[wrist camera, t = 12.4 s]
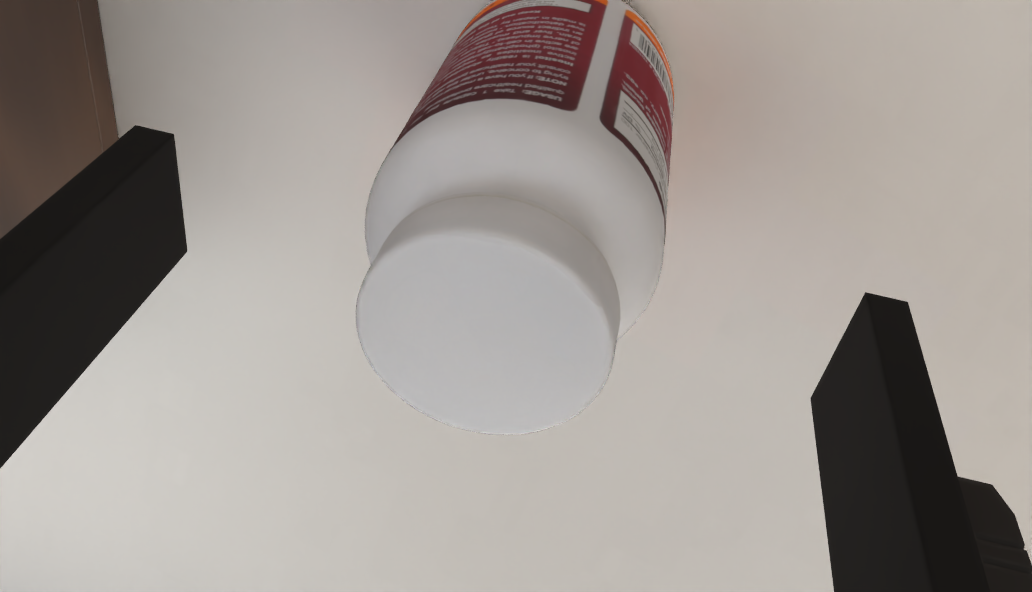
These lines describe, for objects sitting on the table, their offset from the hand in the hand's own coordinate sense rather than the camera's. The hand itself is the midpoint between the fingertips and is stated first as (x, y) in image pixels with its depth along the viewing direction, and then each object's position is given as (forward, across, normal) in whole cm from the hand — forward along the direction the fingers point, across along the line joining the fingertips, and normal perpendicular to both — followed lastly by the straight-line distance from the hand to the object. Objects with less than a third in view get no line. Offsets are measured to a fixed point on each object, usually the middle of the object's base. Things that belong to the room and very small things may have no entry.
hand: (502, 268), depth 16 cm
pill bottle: (+9, 0, 0) cm, 9 cm away
